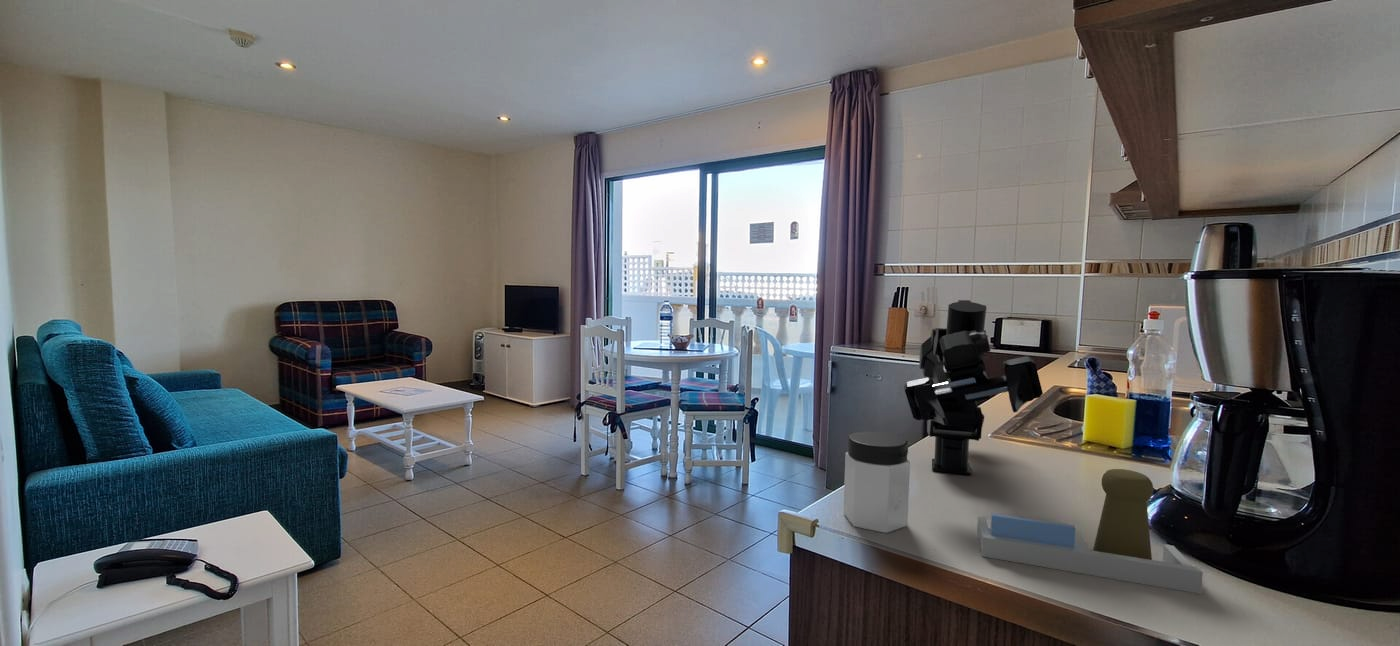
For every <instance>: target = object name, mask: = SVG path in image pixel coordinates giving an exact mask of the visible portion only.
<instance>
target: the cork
mask: <svg viewBox="0 0 1400 646" xmlns="http://www.w3.org/2000/svg"><path fill="white" fill-rule="evenodd" d="M1101 487H1102V489H1103V491H1104V494H1105V497H1104V503H1103V506H1102V511H1101V514H1100V519H1099V522H1098V527H1097V531H1096V532H1097V533H1096V536H1095V539H1094V544H1093V550H1092V551H1098V552H1104V553H1111V554H1117V555H1123V556H1130V557H1136V558H1142V559H1149V560H1153V557H1152V545H1151V535H1150V525H1149V523H1150V522H1149V512H1148V503H1147V502H1148V501H1150V500H1151V498H1152V496H1153V494H1154V484H1153V482H1152V480H1151V479H1150V477H1149V476H1147V475H1146V474H1144V473H1141V472H1137V471H1135V470H1131V469H1126V468H1125V469H1124V468H1123V469H1122V468H1111V469H1108V470H1106V472H1104V474H1103V475H1102V477H1101Z"/></svg>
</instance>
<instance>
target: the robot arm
mask: <svg viewBox="0 0 1400 646" xmlns="http://www.w3.org/2000/svg"><path fill="white" fill-rule="evenodd" d="M947 306H948V308H947V309H948V310H947V318H946V319H947V320H946V328H945V327H943V328H942V327H940V328H939V327H937V328H933V329H931V333H930V336H929V338H927V339H926V340H925V341H924V342H923V343H921V344H920V345H921V346H920V352H919V362H918V363H919V369H920V370H921V371H922V374H923V376H924V378H918V379H913V380H910V381H906V382H905V384H904V386H903V387H904V393H905V396H906V399H907V402H908V405H909V408H910V412H911V414H912V418H913V419H915V421H922V420H923V421H925V422H926V431H927V434H928V437H931V438H932V437H933V438H935V439H934V457H933V458H931V471H934V472H942V473H949V474H957V475H967V476H971V475H972V470H971V466H970V463H969V449H970V448H969V446H970V440H972V441H973V440H974V441H976V442H977V441H980V440H981V439H982V431H983V426H984V425H983V424H984V421H985V415H984V413H983V412H982V408H981V406H978V403H977V402H979V401H983V400H989V399H991V396H993V395H998V394H1004V393H1008V396H1009V397H1008V398H1009V403H1010V406H1011V407H1010V408H1011V410H1012V412H1013V413H1017V412H1018V411H1019V410H1020V409H1021V408H1022V407H1023V406H1024V405H1025V404H1027V403H1028V402H1032V401H1034V399H1039V398H1041V397H1042V395H1043V394H1044V393H1043V388H1042V385H1041V380H1040V377H1039V373H1038V369H1037V364H1036V362H1035V361H1034V358H1031V357H1030V356H1022V357H1017V358H1013V359H1011V358H1010V359H1007V360H1003V361H1002V364H1003V371H1004V375H1000V376H996V377H992V378H988V375H987V373H986V371H987V368H986V363H985V362H984V359H983V357H982V356H985V354H986V353H989V352H991V351H992V350H991V347H990V343H989V338H988V335H987V332H986V331H987V330H985V325H986V316H987V305H985V304H981V303H977V302H972V301H971V300H968V299H966V300H965V299H961V300H960V299H958V300H957V302H956V301H955V302H952V303H950V304H948V305H947ZM931 380H932V382H933V384H932V383H931Z"/></svg>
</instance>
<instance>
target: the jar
mask: <svg viewBox="0 0 1400 646" xmlns="http://www.w3.org/2000/svg"><path fill="white" fill-rule="evenodd" d="M847 440H848V443H847V451H846V452H845V459H844V462H845V463H844V485H843V486H844V487H843V488H844V489H843V490H844V491H843V514H844V516H845V517H846V519H847V520H848V521H849V523H851V525H852V526H853V527H854V528H858V529H863V530H864V529H865V530H869V531H874V532H878V533H883V534H888V533H891V532H894V531H896V530H899V529H902V528H905V527H907V526H908V522H909V521H908V520H909V498H910V497H909V496H910V474H911V473H910V472H911V471H910V470H911V462H910V460H909V459H908V454H909V447H908V446H909V444H908V443H909V442H908V441H907V439H906V438H904V437H902V436H899V435H897V434H893V433H890V432H889V433H888V432H880V431H858V432H853V433H852V434H849V435H848V439H847Z"/></svg>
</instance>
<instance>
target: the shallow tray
mask: <svg viewBox="0 0 1400 646" xmlns="http://www.w3.org/2000/svg"><path fill="white" fill-rule="evenodd" d="M990 516H991V518H990V527H989V526H988V521H987V518H986V517H982V516H977V525H976V526H977V529H976V533H977V538H978V541H979V546H980V547H979V549H980V553H981V557H985V558H990V559H996V560H1001V561H1008V562H1012V563H1019V564H1025V565H1031V566H1036V567H1041V568H1047V569H1054V570H1059V571H1066V572H1071V573H1072V572H1073V573H1077V574H1082V575H1089V576H1094V577H1095V576H1096V577H1102V578H1106V579H1112V580H1118V581H1119V580H1120V581H1124V582H1128V583H1129V582H1130V583H1135V584H1143V585H1148V586H1153V587H1159V588H1163V589H1164V588H1165V589H1171V590H1178V591H1183V592H1187V593H1193V594H1200V595H1201V594H1202V586H1203V575H1204V574H1203V570H1201V569H1200V567H1198V566H1193V564H1191V562H1189V561H1188V560H1187V558H1186V557H1185V556H1184V555H1183V554H1182V553H1181V552H1180V551H1179V550H1178V549H1177V548H1176V547H1175V545H1171V544H1163V550H1162V560H1161V561H1160V560H1154V559H1152V560H1149V559H1142V558H1136V557H1130V556H1123V555H1117V554H1111V553H1104V552H1098V551H1093V550H1091V549H1090V547H1089V545H1088V544H1087V542H1086V540H1085V538H1084V536H1082V534H1081V532H1080V531H1076V527H1075V525H1073V524H1068V523H1067V524H1066V523H1060V522H1053V521H1045V520H1039V519H1033V518H1025V517H1019V516H1011V515H1005V514H998V513H991V515H990Z"/></svg>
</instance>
